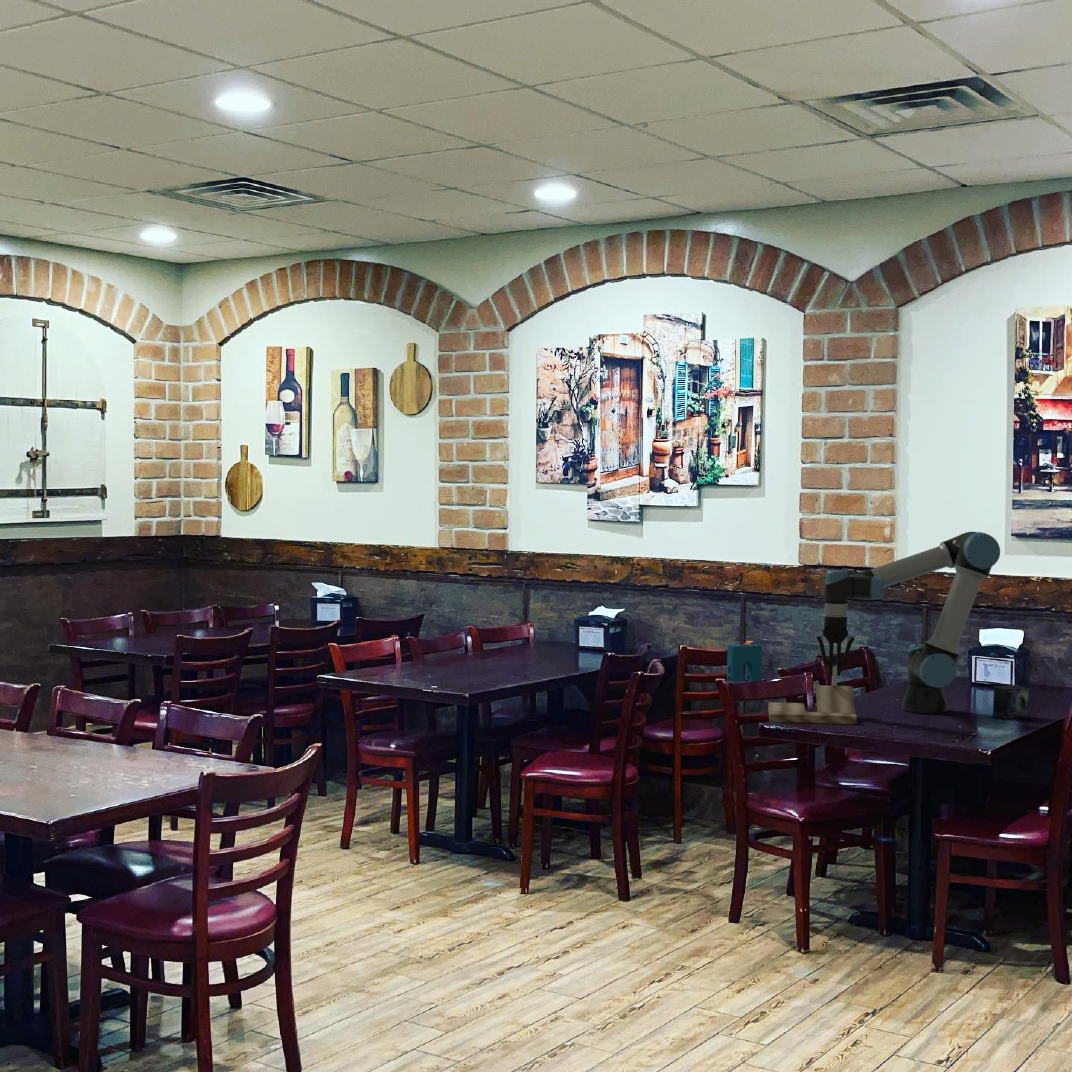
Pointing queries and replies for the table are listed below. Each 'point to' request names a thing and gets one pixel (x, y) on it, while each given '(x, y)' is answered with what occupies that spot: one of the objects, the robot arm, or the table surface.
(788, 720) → the laid floor
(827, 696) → the plank near
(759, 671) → the block
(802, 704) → the plank far
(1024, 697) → the small box
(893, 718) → the table surface
